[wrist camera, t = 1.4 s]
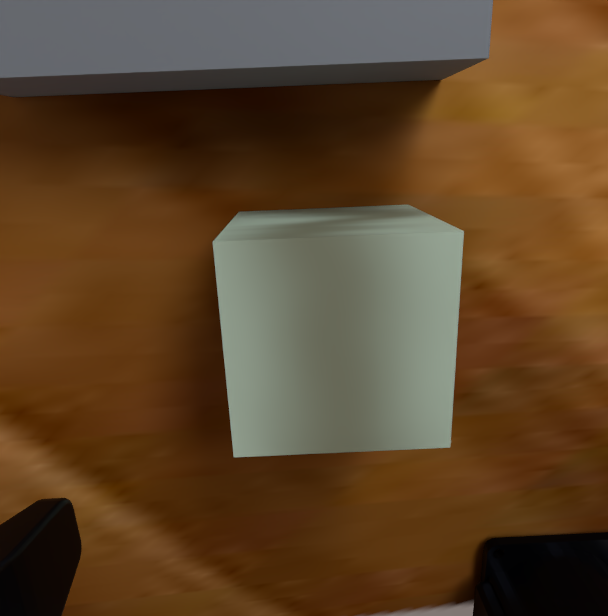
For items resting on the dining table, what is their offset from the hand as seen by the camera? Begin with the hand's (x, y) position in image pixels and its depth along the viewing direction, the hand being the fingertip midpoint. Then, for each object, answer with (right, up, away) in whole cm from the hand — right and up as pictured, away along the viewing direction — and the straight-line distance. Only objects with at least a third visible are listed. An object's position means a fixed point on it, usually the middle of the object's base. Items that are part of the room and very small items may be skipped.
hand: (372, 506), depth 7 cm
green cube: (0, +4, +11) cm, 12 cm away
